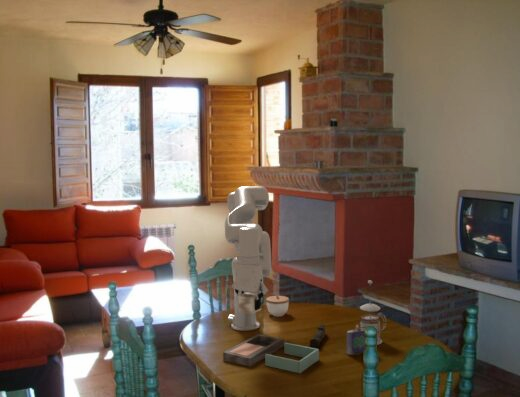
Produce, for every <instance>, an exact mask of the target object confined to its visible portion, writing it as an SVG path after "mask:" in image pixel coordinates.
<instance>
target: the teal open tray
mask: <svg viewBox="0 0 520 397" xmlns="http://www.w3.org/2000/svg"><path fill="white" fill-rule="evenodd" d="M283 347H284V348H283V349H284V352H283V353H284V354H287V355H290V356H295V357H300V358H301V359H300V360H295V359H292V358H287V357H282V356H277V355H273V354H270V355H269V354H265V358H264V359H265V360H264V364H265V366H267V367H271V368H276V369H279V370H284V371H288V372H293V373H298V374H301V373H303V372H304V371H305V370H307V369H308V368H310V367H311V366H313V365H314V364H315V363H316V362H318V361H319V360H320V350H319V348H311V347H310V346H304V345H300V344H296V343H295V344H294V343H289V342H284V346H283Z"/></svg>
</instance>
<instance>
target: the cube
mask: <svg viewBox="0 0 520 397" xmlns="http://www.w3.org/2000/svg"><path fill="white" fill-rule="evenodd" d="M255 299H256V298H255V295H254V293H250V292H246V293H244V294H242V295H239V312H243V313H249V314H254V313H256V314H257V312H259V311H261V310H262V307H261V308H260V309H258V310H255Z"/></svg>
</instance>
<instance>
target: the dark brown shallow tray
mask: <svg viewBox="0 0 520 397" xmlns="http://www.w3.org/2000/svg"><path fill="white" fill-rule="evenodd" d="M284 341H285V339H284V338H280V337H275V336H270V335H266V334H265V335H264V334H260V333H257V334H255V335H254V336H252V337H250V338H247V339H246V340H244V341H242V342H240V343H238V344H236V345H234V346H233V347H231V348H229V349H227V350H225V351H223V352H222V356H223V358H222V360H223V361H225V362H228V363H229V362H230V363H232V364H233V363H234V364H238V365H243V366H246V367H247V366H248V367H252V366H254V365H255V364H257V363H259V362H261V361H262V360H264V359H265V354H269V355H273V354H274V353H275V352H277V351H278V350H280V349H282V348H283V347H284V343H285V342H284Z"/></svg>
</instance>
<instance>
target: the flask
mask: <svg viewBox="0 0 520 397" xmlns="http://www.w3.org/2000/svg"><path fill="white" fill-rule="evenodd" d="M365 328H366V327H365ZM365 328H361V327H359V324H356V325H355V328H354V329H351V330H347V331H346V354H347V355H348V356H354V355H361V353H363V352H364V350H365V335H364V330H365ZM363 354H364V353H363Z"/></svg>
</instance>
